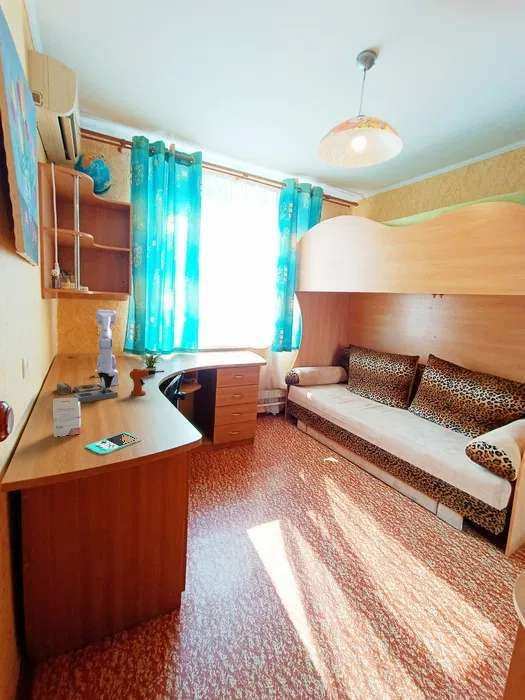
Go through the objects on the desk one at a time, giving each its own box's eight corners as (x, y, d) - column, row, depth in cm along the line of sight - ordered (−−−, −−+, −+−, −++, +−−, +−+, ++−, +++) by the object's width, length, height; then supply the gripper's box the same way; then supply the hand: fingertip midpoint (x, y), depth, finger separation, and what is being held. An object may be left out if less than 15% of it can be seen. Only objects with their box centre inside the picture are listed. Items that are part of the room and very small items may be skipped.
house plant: (165, 378, 211) (166, 354, 208) (144, 380, 203) (144, 354, 200) (159, 373, 222) (159, 350, 220) (138, 375, 215) (138, 351, 212)
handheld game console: (84, 448, 111) (84, 445, 111) (125, 434, 125) (125, 431, 124) (101, 457, 106) (101, 454, 106) (142, 441, 119) (142, 438, 119)
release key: (63, 386, 174) (63, 382, 174) (68, 390, 168) (68, 385, 168) (58, 387, 172) (58, 382, 172) (62, 390, 167) (62, 386, 166)
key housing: (65, 389, 174) (65, 382, 174) (71, 393, 168) (71, 386, 167) (56, 390, 171) (56, 383, 171) (62, 394, 165) (61, 388, 164)
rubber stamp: (111, 374, 211) (111, 357, 209) (111, 376, 206) (111, 358, 204) (94, 375, 206) (94, 357, 205) (94, 377, 201) (94, 359, 200)
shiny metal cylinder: (108, 392, 169) (108, 375, 168) (111, 394, 167) (111, 377, 165) (100, 393, 167) (100, 376, 165) (103, 395, 164) (103, 378, 162)
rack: (111, 392, 173) (111, 388, 172) (117, 396, 167) (117, 392, 167) (73, 398, 160) (73, 394, 159) (79, 403, 154) (78, 398, 154)
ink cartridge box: (81, 429, 125) (80, 393, 123) (79, 434, 121) (79, 397, 118) (55, 432, 122) (54, 395, 119) (53, 437, 117) (51, 399, 115)
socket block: (94, 388, 179) (94, 383, 179) (100, 392, 172) (100, 388, 172) (73, 390, 172) (73, 386, 172) (80, 395, 165) (80, 390, 165)
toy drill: (166, 393, 173) (163, 366, 170) (130, 397, 170) (126, 370, 168) (167, 391, 178) (164, 365, 175) (132, 394, 175) (128, 368, 172)
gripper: (92, 359, 166) (93, 384, 168) (103, 364, 156) (103, 391, 158) (106, 358, 171) (106, 382, 173) (117, 363, 161) (117, 389, 163)
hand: (106, 386), depth 166 cm, fingers closed on shiny metal cylinder, 4 cm apart
